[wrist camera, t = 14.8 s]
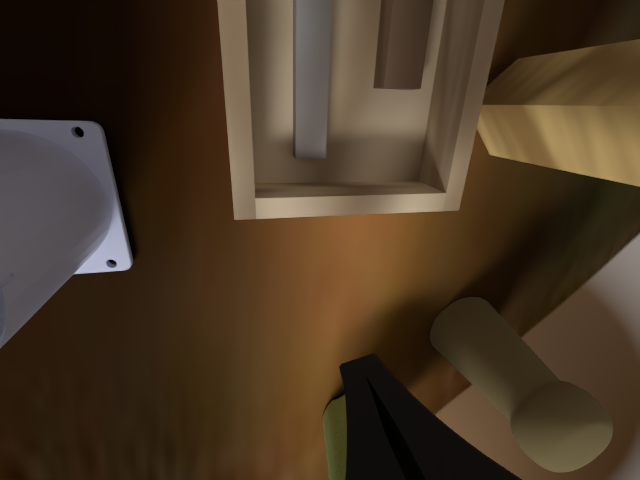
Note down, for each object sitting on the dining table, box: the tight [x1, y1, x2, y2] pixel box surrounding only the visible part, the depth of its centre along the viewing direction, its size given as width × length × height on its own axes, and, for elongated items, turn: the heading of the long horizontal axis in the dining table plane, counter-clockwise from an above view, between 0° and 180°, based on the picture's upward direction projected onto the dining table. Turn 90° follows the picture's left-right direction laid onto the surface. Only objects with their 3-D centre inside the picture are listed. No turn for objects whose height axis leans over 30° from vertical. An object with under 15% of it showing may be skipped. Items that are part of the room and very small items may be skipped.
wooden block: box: [477, 39, 640, 186], centre depth 15 cm, size 4×4×10 cm
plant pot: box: [323, 394, 347, 480], centre depth 24 cm, size 9×9×9 cm
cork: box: [430, 297, 613, 472], centre depth 22 cm, size 6×6×11 cm
